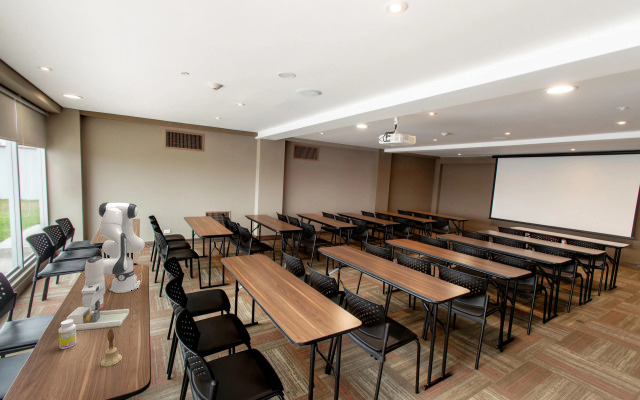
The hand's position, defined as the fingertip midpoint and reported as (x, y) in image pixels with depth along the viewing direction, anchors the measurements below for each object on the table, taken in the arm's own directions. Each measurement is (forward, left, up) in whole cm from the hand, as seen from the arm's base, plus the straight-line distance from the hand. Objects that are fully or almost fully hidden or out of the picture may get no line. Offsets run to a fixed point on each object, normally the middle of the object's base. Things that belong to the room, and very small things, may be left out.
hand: (95, 307), depth 160 cm
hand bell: (+40, +22, -9) cm, 46 cm away
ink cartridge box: (-17, -7, -9) cm, 21 cm away
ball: (0, -3, -6) cm, 7 cm away
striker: (0, 0, -8) cm, 8 cm away
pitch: (0, +2, -9) cm, 9 cm away
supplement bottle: (+22, -3, -9) cm, 24 cm away
